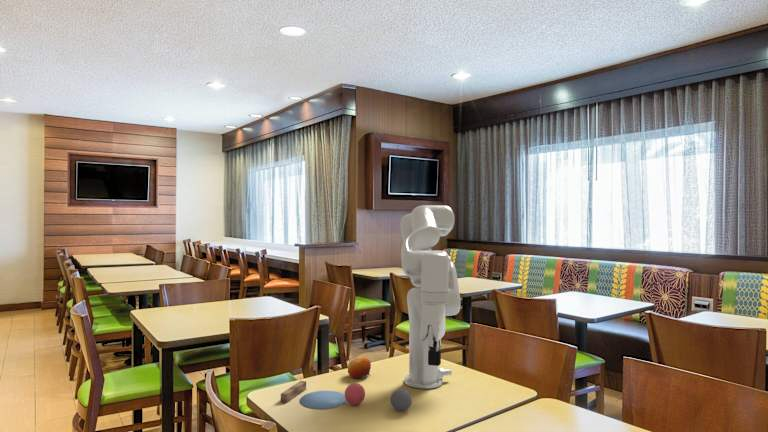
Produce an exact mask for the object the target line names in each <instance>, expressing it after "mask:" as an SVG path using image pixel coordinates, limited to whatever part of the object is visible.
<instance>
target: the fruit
mask: <svg viewBox="0 0 768 432" xmlns="http://www.w3.org/2000/svg"><path fill="white" fill-rule="evenodd" d="M371 367H372V364H371V361H370V359H369V357H366V356H363V355H359V356H357V357H354V358H353V359H351V360H350V361H349V363H348V366H347V373H348V375H349V376H350V377H351V378H353V379H355V380H359V379H360V380H361V379H367V376H370V372H371Z"/></svg>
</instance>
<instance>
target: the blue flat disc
mask: <svg viewBox="0 0 768 432" xmlns="http://www.w3.org/2000/svg"><path fill="white" fill-rule="evenodd" d="M346 403H348V402H347V401H346V399H345V393H342V392H339V391H334V390H318V391H312V392H309V393H306V394H303V395H302V396H301V397H300V399H299V404H301V405H302V406H303V407H305V408H308V409H314V410H329V409H336V408H338V407H341V406H343V405H345V404H346Z"/></svg>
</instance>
